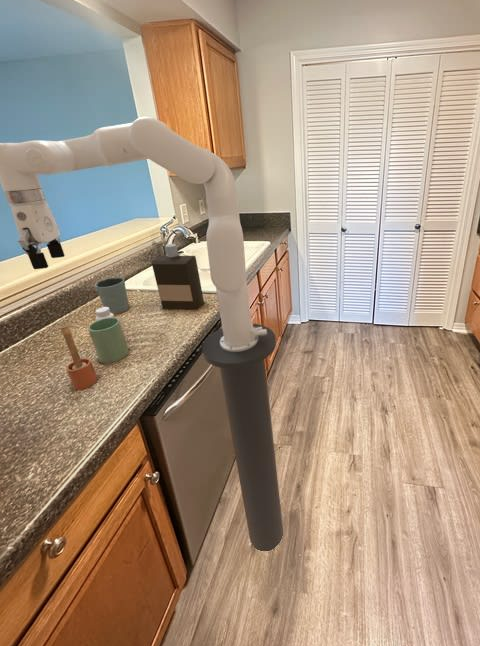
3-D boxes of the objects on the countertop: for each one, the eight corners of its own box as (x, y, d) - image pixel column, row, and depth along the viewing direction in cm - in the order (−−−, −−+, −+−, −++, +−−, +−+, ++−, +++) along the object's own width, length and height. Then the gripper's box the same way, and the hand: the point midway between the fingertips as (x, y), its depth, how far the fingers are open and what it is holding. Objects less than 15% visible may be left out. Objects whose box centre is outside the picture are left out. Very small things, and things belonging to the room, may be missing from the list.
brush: (93, 376, 89) (73, 322, 83) (89, 383, 87) (68, 328, 80) (80, 378, 89) (59, 324, 82) (76, 385, 86) (54, 330, 79)
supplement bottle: (101, 340, 108) (93, 314, 104) (100, 333, 112) (92, 308, 108) (119, 335, 110) (112, 309, 106) (118, 329, 115) (110, 304, 111)
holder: (100, 374, 91) (93, 356, 89) (93, 387, 86) (86, 368, 84) (78, 377, 90) (71, 360, 88) (69, 391, 85) (62, 372, 83)
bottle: (170, 300, 135) (156, 242, 125) (206, 301, 132) (195, 242, 122) (159, 309, 127) (144, 248, 118) (197, 310, 125) (185, 248, 115)
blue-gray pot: (118, 302, 135) (110, 276, 131) (137, 305, 132) (130, 278, 127) (97, 313, 127) (88, 285, 122) (117, 316, 123) (108, 288, 119)
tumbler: (131, 345, 104) (122, 315, 100) (125, 360, 97) (115, 328, 92) (104, 350, 102) (93, 319, 98) (95, 365, 95) (83, 333, 91)
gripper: (24, 200, 73) (50, 271, 80) (58, 192, 89) (78, 252, 96) (-14, 203, 72) (16, 275, 79) (27, 194, 87) (49, 255, 94)
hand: (50, 262), depth 87 cm, fingers open, 9 cm apart
